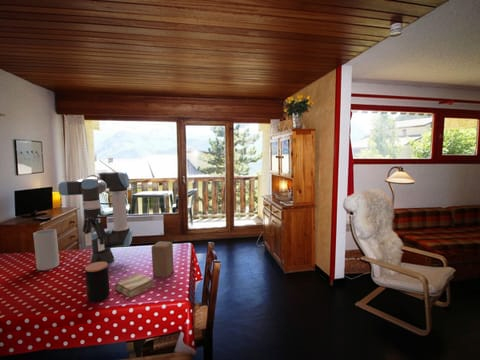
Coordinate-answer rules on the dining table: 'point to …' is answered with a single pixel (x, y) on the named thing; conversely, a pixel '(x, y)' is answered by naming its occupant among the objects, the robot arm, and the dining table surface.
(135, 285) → the plinth
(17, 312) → the dining table surface
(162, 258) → the wooden block
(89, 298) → the coffee jar
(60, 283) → the dining table surface
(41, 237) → the cylinder vase
